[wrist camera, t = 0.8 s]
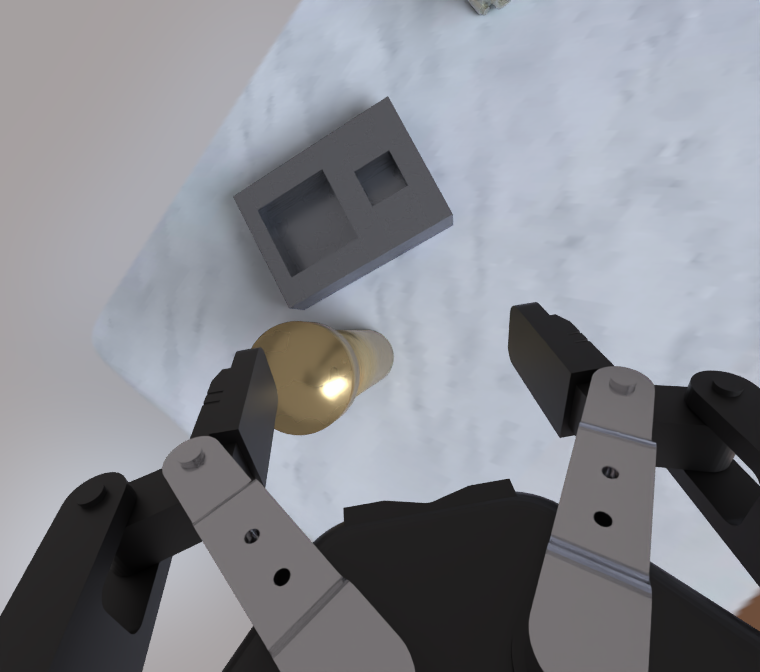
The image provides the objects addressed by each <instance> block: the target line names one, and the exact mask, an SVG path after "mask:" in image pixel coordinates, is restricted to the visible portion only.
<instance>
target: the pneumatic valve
mask: <svg viewBox="0 0 760 672" xmlns="http://www.w3.org/2000/svg"><path fill="white" fill-rule="evenodd" d="M467 1H468V2H469V3H470V4H471V5H472V7H473V8H474V9H475V10H476V12H477V13H478V14H479V15H482V14H483V15H486V14H487V13H488V12H489V10H490V7H489V6H490V5H491V4H494V6H495V7H496V8H497V9H501V8H503V7H504V6H506V5H507V4H508V3H509V2H510V1H511V0H467Z"/></svg>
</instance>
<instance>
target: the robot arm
mask: <svg viewBox="0 0 760 672" xmlns="http://www.w3.org/2000/svg"><path fill="white" fill-rule="evenodd" d="M508 351H509V356H510V360H511V362H512V364H513V366H514V368H515V369H516V371H517V372H518V374H519V375H520V377H521V378H522V380H523V381H524V383H525V385H526V386H527V388H528V389H529V391H530V392H531V394H532V395H533V397H534V399H535V400H536V402H537V403H538V405H539V406H540V408H541V409H542V411H543V412H544V414H545V416H546V417H547V419H548V420H549V422H550V423H551V425H552V426H553V428H554V430H555V431H556V433H557V434H558V436H559V437H560V438H562V437H567V436H573V435H575V436H576V439H575V443H574V447H573V451H572V455H571V459H570V462H569V466H568V470H567V474H566V478H565V482H564V486H563V490H562V494H561V498H560V502H559V504H558V503H556V502H554V501H552V500H549V499H547V498H544V497H541V496H538V495H534V494H530V493H524V492H515V490H514V488H513V486H512V483H511V481H510V479H504V480H499V481H493V482H487V483H482V484H476V485H470V486H467V487H465V488H463V489H460V490H458V491H456V492H454V493H451V494H449V495H447V496H445V497H442V498H440V499H438V500H436V501H433V502H431V503H415V502H398V501H380V502H374V503H369V504H363V505H357V506H352V507H346V508H343V509H344V522H342V523H340V524H338V525H336V526H334V527H332V528H331V529H329V530H328V531H326V532H325V533H324V534H322V535H321V536H320V537H318V538H317V539H316V540H315V541H314V542H313V543H312V542H311V541H310V539H309V538H308V537H307V536H306V535H305V534H304V533H303V531H302V530H301V529H300V528H299V527H298V526H297V525H296V523H295V522H294V521H293V520H292V519H291V518H290V516H289V515H288V514H287V513H286V512H285V511H284V510H283V508H282V507H281V506H280V505H279V504H278V503H277V501H276V500H275V499H274V498H273V497H272V496H271V495H270V493H269V492H268V491H267V490H266V489H265V486H266V479H267V472H268V466H269V459H270V452H271V446H272V439H273V432H274V426H275V419H276V413H277V406H278V393H277V388H276V384H275V381H274V378H273V375H272V373H271V370H270V367H269V364H268V361H267V358H266V355H265V353H264V351H263V349H262V348H261V347H259V348H253V349H247V350H241V351H237V352H236V354H235V357H234V360H233V363H232V366H231V368H228V369H222V370H221V372H220V373H219V374H218V375H217V376H216V377H215V378H214V379H213V380H212V382H211V384H210V387H209V390H208V392H207V396H206V398H205V400H204V405H203V406H202V408H201V411H200V414H199V416H198V419H197V421H196V424H195V427H194V429H193V432H192V435H191V437H190V440H187V441H185V442H183V443H182V444H180V445H179V446H177V447H176V448H175V449H174V450H173V451H172V452H171V453H170V454H169V455H168V456H167V457H166V459H165V461H164V463H163V467H162V469H159V470H157V471H155V472H153V473H150V474H148V475H146V476H143V477H141V478H138V479H136V480H134V481H131V482H128V481H127V480H126V478H125V477H124V476H123V475H122V474H120V473H116V472H110V473H104V474H101V475H98V476H95V477H93V478H91V479H89V480H88V481H86V482H84V483H83V484H81V485H80V486H79V487H77V488H76V489H75V490H74V491H73V492H72V493H71V494H70V495H69V496H68V497H67V498H66V500H65V501H64V503H63V504H62V506H61V508H60V510H59V512H58V513H57V515H56V517H55V519H54V520H53V522H52V524H51V526H50V528H49V529H48V531H47V533H46V535H45V537H44V539H43V540H42V542H41V544H40V546H39V547H38V549H37V551H36V553H35V555H34V556H33V558H32V560H31V562H30V564H29V565H28V567H27V569H26V571H25V573H24V574H23V577H22V578H21V580H20V582H19V583H18V585H17V587H16V589H15V591H14V592H13V594H12V596H11V598H10V600H9V601H8V603H7V605H6V607H5V609H4V610H3V612H2V614H1V616H0V672H142V670H143V666H144V662H145V658H146V654H147V651H148V647H149V643H150V640H151V636H152V632H153V628H154V624H155V620H156V617H157V613H158V609H159V605H160V601H161V598H162V594H163V590H164V587H165V583H166V579H167V575H168V571H169V567H170V563H171V559H172V556H173V555H175V554H177V553H179V552H181V551H183V550H186V549H188V548H190V547H192V546H194V545H196V544H198V543H200V542H202V541H203V543H204V544H205V546H206V548H207V549H208V551H209V553H210V554H211V556H212V558H213V559H214V561H215V563H216V564H217V566H218V567H219V569H220V571H221V573H222V574H223V576H224V577H225V579H226V581H227V582H228V584H229V586H230V588H231V589H232V591H233V592H234V594H235V596H236V597H237V599H238V601H239V602H240V604H241V606H242V607H243V609H244V611H245V612H246V614H247V616H248V617H249V619H250V621H251V622H252V624H253V627H252V628H251V630H250V631H249V633H248V634H247V636H246V637H245V639H244V640H243V642H242V643H241V645H240V646H239V647H238V649H237V650H236V652H235V653H234V655H233V657H232V658H231V659H230V661H229V662H228V663H227V665H226V666H225V668H224V669H223V671H222V672H760V631H758V630H757V629H755V628H753V627H751V626H750V625H749V624H747V623H745V622H744V621H742V620H741V619H739V618H738V617H736V616H735V615H733V614H731V613H730V612H728V611H727V610H725V609H724V608H722V607H721V606H719V605H717V604H716V603H714V602H713V601H711V600H710V599H708V598H706V597H705V596H703V595H702V594H700V593H699V592H697V591H696V590H694V589H692V588H691V587H689V586H688V585H686V584H685V583H683V582H681V581H680V580H678V579H677V578H675V577H674V576H672V575H670V574H669V573H667V572H666V571H664V570H663V569H661V568H660V567H658V566H656V565H655V564H653V563H652V562H650V550H651V533H652V516H653V499H654V483H655V467H663V468H667V470H668V471H669V472H670V473H671V475H672V476H673V477H674V478H675V480H676V481H677V482H678V484H679V485H680V486H681V487H682V489H683V490H684V491H685V492H686V494H687V495H688V496H689V498H690V499H691V500H692V501H693V503H694V504H695V505H696V506H697V508H698V509H699V510H700V512H701V513H702V514H703V515H704V517H705V518H706V519H707V521H708V522H709V523H710V524H711V526H712V527H713V528H714V529H715V531H716V532H717V533H718V535H719V536H720V537H721V538H722V540H723V541H724V542H725V543H726V545H727V546H728V547H729V549H730V550H731V551H732V552H733V554H734V555H735V556H736V557H737V559H738V560H739V561H740V563H741V564H742V565H743V566H744V568H745V569H746V570H747V572H748V573H749V574H750V575H751V577H752V578H753V579H754V580H755V582H756V583H757V584H758V586H759V587H760V486H759V485H758V484H757V483H756V482H755V481H754V480H753V479H752V478H751V477H750V476H749V475H748V474H747V473H746V472H745V471H744V470H743V469H742V467H741V466H740V465H739V464H738V463H737V462H736V461H735V460H734V459H733V458H734V456H735V454H736V455H737V456H738V457H739V458H740V459H741V460H742V461H743V462H744V463H745V464H746V465H747V466H748V467H749V468H750V469H751V470H752V471H753V472H754V474H755V475H756V477H757V478H758V481H759V484H760V388H759V387H757V386H756V385H755V384H753V383H752V382H750V381H748V380H747V379H745V378H742V377H740V376H737V375H735V374H731V373H727V372H722V371H702V372H699V373H696V374H695V375H693V376H692V378H691V380H690V383H689V385H688V387H680V386H662V385H654V384H653V383H652V381H651V380H650V379H649V378H648V377H646V376H645V375H643V374H642V373H640V372H638V371H636V370H633V369H630V368H626V367H619V366H614V365H613V364H612V363H611V362H610V361H609V360H608V359H607V358H606V357H605V356H604V355H603V354H602V353H601V352H600V351H599V350H598V349H597V348H596V347H595V346H594V345H593V344H592V343H591V342H590V341H588V340H587V338H586V337H585V336H584V335H583V334H582V333H580V331H579V330H578V329H577V328H576V327H575V326H574V325H573V324H572V323H571V322H570V321H568V320H566V319H564V318H562V317H560V316H558V315H556V314H555V315H549V314H548V313H547V312H546V311H545V310H544V309H543V308H542V306H541V305H540V304H539V303H537V302H533V303H527V304H521V305H515V306H512V308H511V310H510V322H509V339H508Z"/></svg>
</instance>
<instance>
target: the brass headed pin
mask: <svg viewBox="0 0 760 672" xmlns="http://www.w3.org/2000/svg"><path fill="white" fill-rule="evenodd" d="M259 347H261V348H262V349H263V351H264V353H265V355H266V358H267V361H268V364H269V367H270V370H271V373H272V375H273V378H274V381H275V384H276V388H277V393H278V406H277V413H276V419H275V426H274V429H276V430H278V431H280V432H283V433H286V434H291V435H307V434H312V433H316V432H318V431H320V430H323V429H324V428H326V427H328V426H329V425H330V424H332V423H333V422H334V421H336V420H337V419H338V418H340V417H341V416H342V415H343V414H344V413H345V412H346V411H347V410H348V409H349V407H350V406H351V405H352V403H353V401H354V399H355V397H356V396H358V395H359V394H361V393H362V392H364V391H365V390H367V389H368V388H370V387H371V386H373V385H374V384H376V383H377V382H379V381H380V380H382V379H383V378H384V377H385V376H386V375H387V374H388V373H389V372H390V370H391V368H392V365H393V359H394V356H393V350H392V347H391V345H390V343H389V341H388V340H387V339H386V338H385V337H384V336H383V335H381V334H380V333H378V332H375V331H371V330H334V329H333V328H331V327H329V326H326V325H324V324H320V323H315V322H302V321H292V322H286V323H282V324H279V325H276V326H274V327H272V328H270V329H269V330H267V331H266V332H265V333H264V334H262V335H261V336H260V337H259V338H258V340H257V341H256V342H255V343H254V345H253V346H252V348H251V349H253V348H259Z"/></svg>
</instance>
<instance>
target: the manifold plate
mask: <svg viewBox="0 0 760 672" xmlns="http://www.w3.org/2000/svg"><path fill="white" fill-rule="evenodd" d="M234 199H235V201H236V203H237V205H238V207H239V209H240V211H241V213H242V215H243V217H244V219H245V221H246V223H247V225H248V227H249V229H250V231H251V233H252V235H253V237H254V239H255V241H256V243H257V245H258V247H259V249H260V251H261V253H262V255H263V257H264V259H265V261H266V263H267V265H268V267H269V268H270V270H271V272H272V274H273V276H274V278H275V280H276V282H277V284H278V286H279V288H280V290H281V292H282V294H283V296H284V298H285V300H286V302H287V304H288V306H289V308H292V309H300V310H305V309H307V308H308V307H310V306H312V305H314V304H315V303H317V302H319V301H321V300H322V299H324V298H326V297H328V296H329V295H331V294H333V293H335V292H336V291H338V290H340V289H342V288H343V287H345V286H347V285H349V284H350V283H352V282H354V281H356V280H357V279H359V278H361V277H363V276H364V275H366V274H368V273H370V272H371V271H373V270H375V269H377V268H379V267H380V266H382V265H384V264H386V263H387V262H389V261H391V260H393V259H394V258H396V257H398V256H400V255H401V254H403V253H405V252H407V251H408V250H410V249H412V248H414V247H415V246H417V245H419V244H421V243H422V242H424V241H426V240H428V239H429V238H431V237H433V236H435V235H436V234H438V233H440V232H442V231H443V230H445V229H447V228H449V227H451V226H452V225H453V214H452V212H451V210H450V209H449V207H448V205H447V203H446V201H445V199H444V198H443V196H442V194H441V192H440V190H439V188H438V187H437V185H436V183H435V181H434V179H433V178H432V176H431V174H430V172H429V170H428V168H427V167H426V165H425V163H424V161H423V159H422V157H421V156H420V154H419V152H418V150H417V148H416V147H415V145H414V143H413V141H412V139H411V137H410V136H409V134H408V132H407V130H406V128H405V127H404V125H403V123H402V121H401V119H400V117H399V116H398V114H397V112H396V110H395V108H394V106H393V105H392V103H391V101H390V99H389V97H386V98H385V99H383V100H381V101H380V102H378V103H377V104H375V105H374V106H372V107H371V108H369V109H368V110H366V111H365V112H363V113H361V114H360V115H358V116H357V117H355V118H354V119H352V120H351V121H349V122H348V123H346V124H344V125H343V126H341V127H340V128H338V129H337V130H335V131H334V132H332V133H331V134H329V135H328V136H326V137H324V138H323V139H321V140H320V141H318V142H317V143H315V144H314V145H312V146H311V147H309V148H307V149H306V150H304V151H303V152H301V153H300V154H298V155H297V156H295V157H294V158H292V159H291V160H289V161H287V162H286V163H284V164H283V165H281V166H280V167H278V168H277V169H275V170H274V171H272V172H271V173H269V174H267V175H266V176H264V177H263V178H261V179H260V180H258V181H257V182H255V183H254V184H252V185H250V186H249V187H247V188H246V189H244V190H243V191H241V192H240V193H238V194H237V195H235V196H234Z"/></svg>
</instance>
